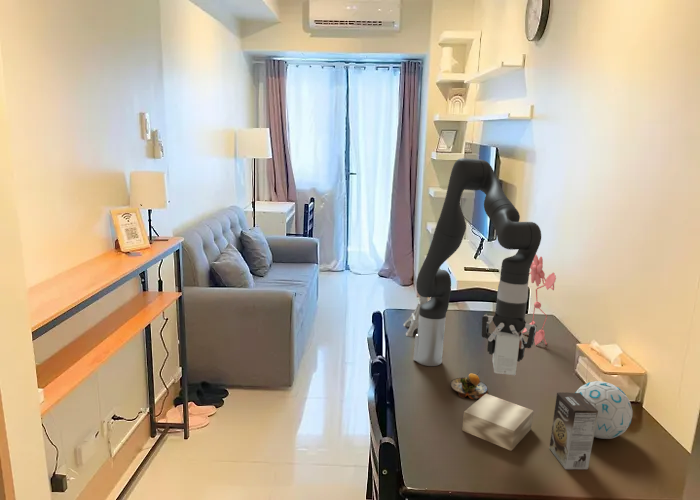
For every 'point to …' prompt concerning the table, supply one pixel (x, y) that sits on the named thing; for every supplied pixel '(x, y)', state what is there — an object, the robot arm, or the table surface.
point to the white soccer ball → (608, 408)
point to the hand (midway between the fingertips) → (504, 356)
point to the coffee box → (573, 430)
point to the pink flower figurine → (535, 276)
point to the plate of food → (469, 386)
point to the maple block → (497, 421)
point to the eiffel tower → (414, 317)
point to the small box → (505, 353)
